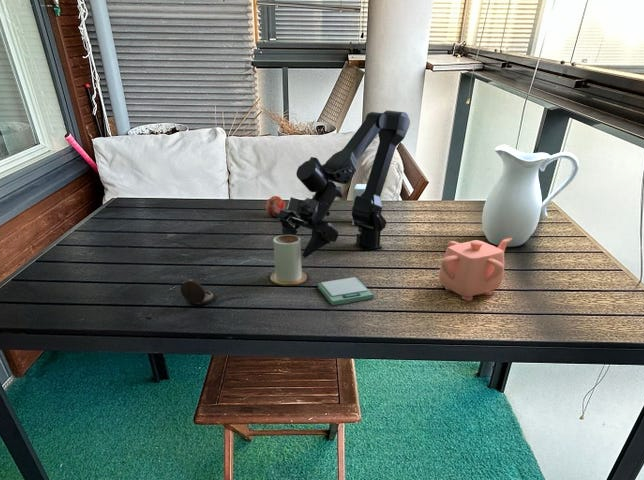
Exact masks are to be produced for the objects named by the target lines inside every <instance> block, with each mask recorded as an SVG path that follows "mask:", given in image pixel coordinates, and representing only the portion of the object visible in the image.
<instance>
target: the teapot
mask: <svg viewBox="0 0 644 480" xmlns="http://www.w3.org/2000/svg"><path fill="white" fill-rule="evenodd" d="M511 240H512V238H506V239H504V240H503V241H502V242H501V243H500V244H499V245H497V246H495V245H492V244H491V243H487V242H485V241H483V240H479V239H473V240H470V241H465V242H458V241H456V240H455V241H454V240H451V241H448V243H447V245H446V246H447V249H446V251H445V253H444V256H443V258H442V259H441V262H440V267H439V273H438V279H439V283H440V284H441V285H443V286H444V287H445V290H447V291H452V292H454V293H456V294H458V295H460V296H461V299H462V300H464V301H472V300H473V298H474V297H473V296H477V295H484V296H491V295H492V291H494V290H497V289H499V287H500V286H501V284H502V283H503V280H504V275H505V251H506V248H507V247H508V246H507V244H508V243H509V242H510V241H511Z"/></svg>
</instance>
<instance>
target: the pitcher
mask: <svg viewBox="0 0 644 480" xmlns="http://www.w3.org/2000/svg"><path fill="white" fill-rule="evenodd" d="M494 152H495V153H496V154H497V155H498V156H499V157H500V159H501V161H502V168H501V170H500V171H501V172H500V174H499V175H498V177H497V178H496V181H495V182H494V184H493V186H492V187H491V189H490V191H489V192H488V194H487V197H486V200H485V203H484V205H483V209H482V214H481V215H482V216H481V217H482V218H481V223H482V225H481V226H482V229H483V234H484V235H485V238H486V239H487V241H488V242H489V243H490V244H493V245H494V246H495V245H496V246H499V244H500V243H501V242H502V241H503V240H504V239H506V238H512V240H511V241H510V242H509V243H508V244H507V246H506V247H508V248H509V247H512V248H513V247H519V246H522V245H523V244H524V243H527V241H528V240H529V239H530V237H531V236H532V235H533V234H534V232H535V230H536V229H537V227H538V225H539V221H540V219H541V216H542V217H544V218H548V213H547V207H548V205H549V204H550V202H552V200H554V198H556V197H557V196H558V195H559V194H560V193H561V192H563V190H565V189H566V188H567V187H568V186H569V185H570V184H571V183H572V182H573V181H574V180H575V177H577V174H578V172H579V169H580V168H579V167H580V164H579V159H578V158H577V157H576V155H574V154H573V153H572V152H569V151H561V152H557V153H554V154H552V155H550V154H549V153H547V152H541V151H540V152H534V153H526V152H522V151H519V150H517V149H515V148H513V147H511V146H509V145H507V144H500V145H498V146H496V147H495V149H494ZM560 159H567V160H569V161H570V162H571V166H572V167H571V171H570V173H569V175H568V177H567V178H566V179H565V180H564V181H563V182H562V183H561V184H560V185H559V186H558V187H557V188H556V189H555V190H554V191H553V192H551V193H550V195H548V196H547V197H546V198H545V199H544V200H542V199H543V198H542V191H541V186H540V180H539V170H540V171H541V172H545V169H546V168H547V166H548V165H549V164H551V163H552V162H554V161H556V160H560Z"/></svg>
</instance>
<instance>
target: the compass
mask: <svg viewBox="0 0 644 480" xmlns="http://www.w3.org/2000/svg"><path fill="white" fill-rule="evenodd" d="M180 293H181V295H182V297H183V298H184V299H185V300H186V301H188V302H190V303H191V304H193V305H197V306H198V305H199V306H201V305H202V306H203V305H207V304H210V303H212V302H213V301H214V300H215V294H214V293H213V292H211V291H209V290H205V287H204V286H203V285H202V284H201V283H200V282H198V281H196V280H194V279H193V278H191V279H187V280H185V281H183V282H182V284H181V285H180Z"/></svg>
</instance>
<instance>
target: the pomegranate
mask: <svg viewBox="0 0 644 480" xmlns="http://www.w3.org/2000/svg"><path fill="white" fill-rule="evenodd" d="M282 209H287V207H286V202H285V201H284V200H283V199H282V198H281V197H280V196H279V195H273V196H270V198H268V199H267V200H266V203H265V210H266V212H267V214H268V215H269V216H271V217H275V218H279V217H278V214H279V212H280V210H282Z"/></svg>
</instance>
